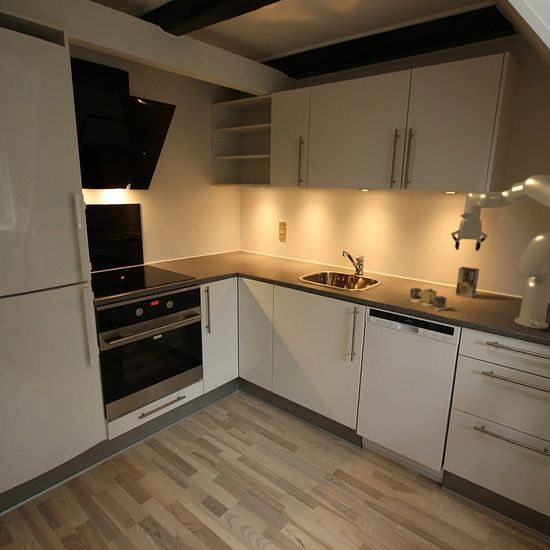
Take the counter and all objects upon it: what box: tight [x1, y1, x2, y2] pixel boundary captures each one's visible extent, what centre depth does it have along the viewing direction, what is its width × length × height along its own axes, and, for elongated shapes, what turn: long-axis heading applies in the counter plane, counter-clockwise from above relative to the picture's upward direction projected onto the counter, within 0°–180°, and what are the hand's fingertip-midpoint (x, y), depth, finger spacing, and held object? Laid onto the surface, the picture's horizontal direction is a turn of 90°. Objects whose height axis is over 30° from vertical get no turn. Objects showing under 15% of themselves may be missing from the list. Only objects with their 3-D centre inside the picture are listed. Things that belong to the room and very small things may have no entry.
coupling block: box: [421, 288, 438, 303], centre depth 192 cm, size 5×5×7 cm
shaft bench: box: [404, 287, 453, 312], centre depth 193 cm, size 21×11×6 cm, turn 28°
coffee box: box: [455, 266, 480, 299], centre depth 210 cm, size 9×6×16 cm
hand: (467, 250), depth 192 cm, fingers open, 9 cm apart
